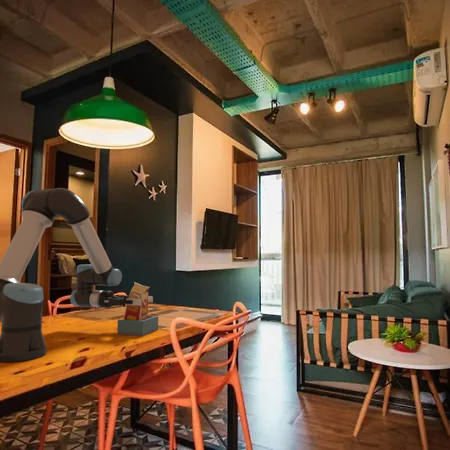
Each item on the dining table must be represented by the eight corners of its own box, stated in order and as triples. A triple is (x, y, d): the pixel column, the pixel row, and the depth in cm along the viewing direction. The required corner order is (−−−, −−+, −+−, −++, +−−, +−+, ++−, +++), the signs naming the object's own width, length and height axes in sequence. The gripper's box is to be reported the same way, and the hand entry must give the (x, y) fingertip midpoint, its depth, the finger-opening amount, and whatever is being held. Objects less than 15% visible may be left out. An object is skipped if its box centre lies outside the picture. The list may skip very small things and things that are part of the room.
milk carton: (121, 329, 150) (125, 282, 150) (131, 325, 159) (135, 280, 159) (141, 332, 148) (144, 284, 148) (150, 327, 157) (153, 282, 157)
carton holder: (158, 329, 158) (158, 316, 158) (143, 336, 145) (143, 321, 146) (134, 328, 161) (134, 314, 162) (117, 334, 148) (117, 319, 149)
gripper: (116, 304, 170) (158, 306, 164) (86, 311, 149) (132, 313, 142) (117, 288, 171) (158, 289, 164) (86, 293, 149) (132, 294, 143)
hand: (146, 300), depth 153 cm, fingers open, 10 cm apart
